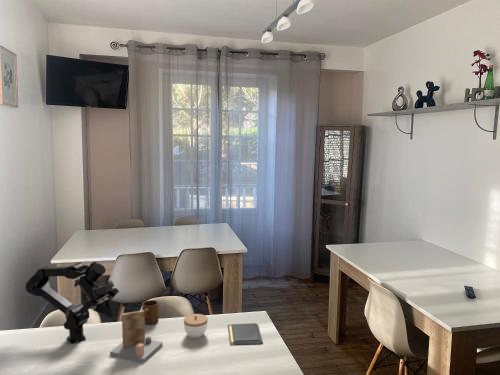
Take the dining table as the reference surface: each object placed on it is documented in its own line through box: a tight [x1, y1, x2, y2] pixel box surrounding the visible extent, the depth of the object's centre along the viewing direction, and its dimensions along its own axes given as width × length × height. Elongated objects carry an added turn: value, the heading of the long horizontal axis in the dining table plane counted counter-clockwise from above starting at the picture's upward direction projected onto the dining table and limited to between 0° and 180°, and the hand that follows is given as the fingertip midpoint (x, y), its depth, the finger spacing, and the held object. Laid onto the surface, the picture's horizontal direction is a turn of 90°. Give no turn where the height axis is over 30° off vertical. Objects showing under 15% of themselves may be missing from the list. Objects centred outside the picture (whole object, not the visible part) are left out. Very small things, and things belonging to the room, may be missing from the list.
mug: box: [141, 299, 159, 326], centre depth 187 cm, size 12×8×9 cm, turn 176°
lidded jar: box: [183, 313, 209, 339], centre depth 176 cm, size 11×11×9 cm
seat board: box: [109, 336, 163, 363], centre depth 163 cm, size 16×14×6 cm
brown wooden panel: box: [121, 310, 146, 347], centre depth 163 cm, size 9×2×14 cm, turn 116°
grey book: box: [227, 322, 264, 347], centre depth 178 cm, size 20×2×15 cm
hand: (112, 316), depth 164 cm, fingers closed
